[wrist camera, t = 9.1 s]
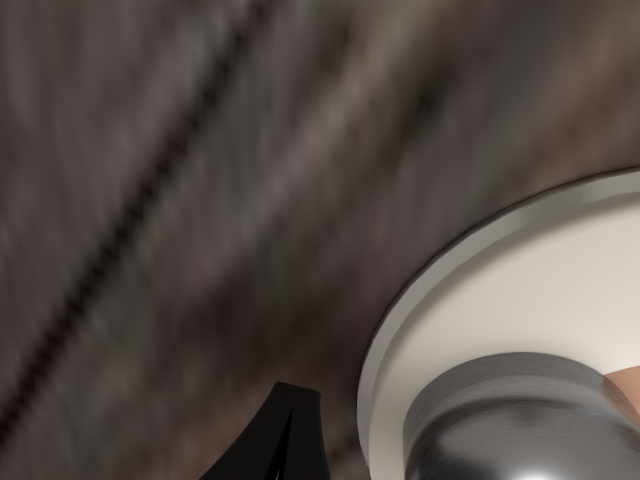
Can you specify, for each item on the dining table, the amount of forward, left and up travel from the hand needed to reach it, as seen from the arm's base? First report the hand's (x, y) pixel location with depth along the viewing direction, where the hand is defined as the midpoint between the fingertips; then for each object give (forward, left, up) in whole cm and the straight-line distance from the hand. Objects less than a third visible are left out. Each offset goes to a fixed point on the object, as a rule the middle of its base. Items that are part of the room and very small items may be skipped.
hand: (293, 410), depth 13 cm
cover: (0, -7, -1) cm, 7 cm away
